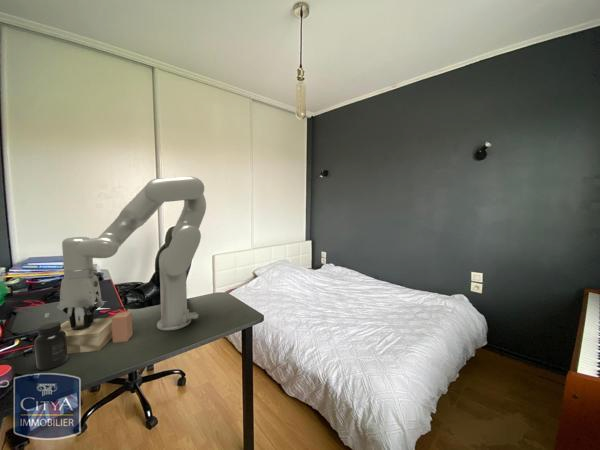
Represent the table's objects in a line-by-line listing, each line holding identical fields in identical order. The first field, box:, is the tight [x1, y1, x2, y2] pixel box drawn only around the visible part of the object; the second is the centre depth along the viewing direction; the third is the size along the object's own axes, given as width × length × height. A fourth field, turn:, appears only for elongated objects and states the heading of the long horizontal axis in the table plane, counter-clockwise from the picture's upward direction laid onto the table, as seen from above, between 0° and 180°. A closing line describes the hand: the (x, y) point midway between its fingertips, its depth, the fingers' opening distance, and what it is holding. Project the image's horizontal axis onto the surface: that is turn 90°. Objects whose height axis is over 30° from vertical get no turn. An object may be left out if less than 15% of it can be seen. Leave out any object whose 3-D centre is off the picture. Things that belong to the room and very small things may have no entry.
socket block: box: [60, 317, 113, 355], centre depth 88 cm, size 16×12×6 cm
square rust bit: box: [111, 311, 134, 344], centre depth 91 cm, size 4×4×9 cm
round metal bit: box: [74, 307, 89, 330], centre depth 87 cm, size 4×4×10 cm
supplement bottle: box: [33, 322, 69, 371], centre depth 76 cm, size 7×7×12 cm
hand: (82, 324), depth 87 cm, fingers closed on round metal bit, 3 cm apart
